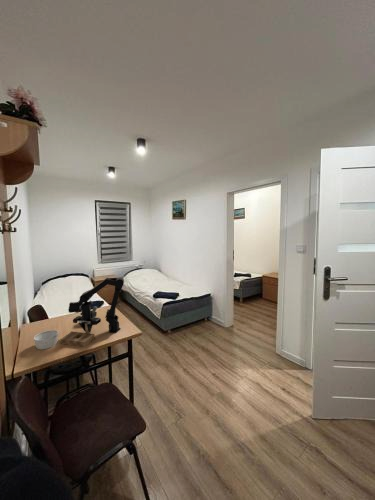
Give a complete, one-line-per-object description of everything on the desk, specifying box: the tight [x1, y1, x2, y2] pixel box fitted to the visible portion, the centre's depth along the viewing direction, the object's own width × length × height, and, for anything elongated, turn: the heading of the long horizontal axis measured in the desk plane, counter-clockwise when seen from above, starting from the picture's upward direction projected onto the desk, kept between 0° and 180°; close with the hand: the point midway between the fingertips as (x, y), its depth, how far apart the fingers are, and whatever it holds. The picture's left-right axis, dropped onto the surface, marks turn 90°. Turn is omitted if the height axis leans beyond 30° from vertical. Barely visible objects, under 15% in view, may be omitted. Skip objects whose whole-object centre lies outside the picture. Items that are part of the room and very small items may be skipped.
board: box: [59, 331, 95, 348], centre depth 138 cm, size 18×10×3 cm, turn 77°
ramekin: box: [33, 329, 59, 350], centre depth 134 cm, size 13×13×7 cm
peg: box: [84, 322, 91, 334], centre depth 147 cm, size 3×3×8 cm
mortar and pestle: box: [91, 306, 98, 319], centre depth 165 cm, size 11×9×12 cm
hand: (87, 331), depth 147 cm, fingers closed on peg, 3 cm apart
